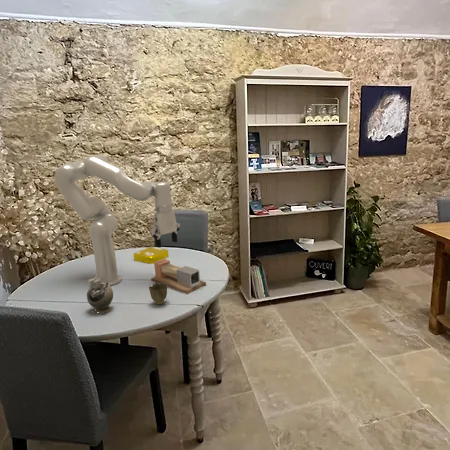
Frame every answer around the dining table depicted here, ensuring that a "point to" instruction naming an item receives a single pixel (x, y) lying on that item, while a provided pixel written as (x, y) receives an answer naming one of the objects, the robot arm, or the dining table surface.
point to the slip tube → (169, 270)
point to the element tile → (150, 255)
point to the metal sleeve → (188, 277)
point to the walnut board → (176, 284)
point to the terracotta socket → (158, 267)
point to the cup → (158, 292)
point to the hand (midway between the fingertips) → (166, 244)
